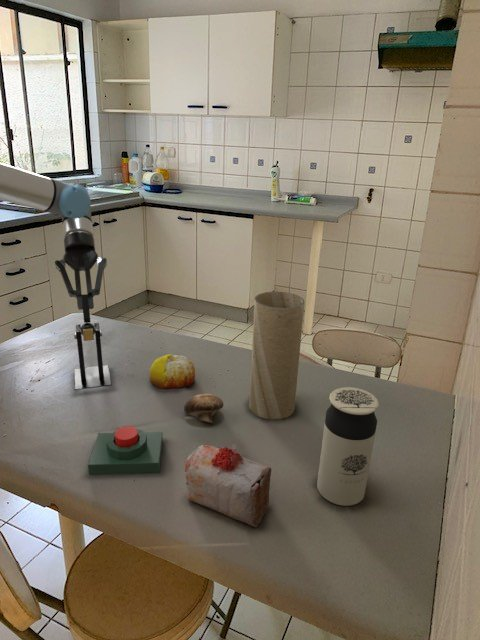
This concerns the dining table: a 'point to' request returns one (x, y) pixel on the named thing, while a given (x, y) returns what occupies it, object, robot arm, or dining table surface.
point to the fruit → (172, 372)
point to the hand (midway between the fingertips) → (87, 320)
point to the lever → (88, 331)
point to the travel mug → (347, 445)
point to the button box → (126, 454)
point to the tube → (275, 353)
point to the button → (126, 436)
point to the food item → (228, 483)
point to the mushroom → (203, 406)
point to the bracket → (91, 375)
